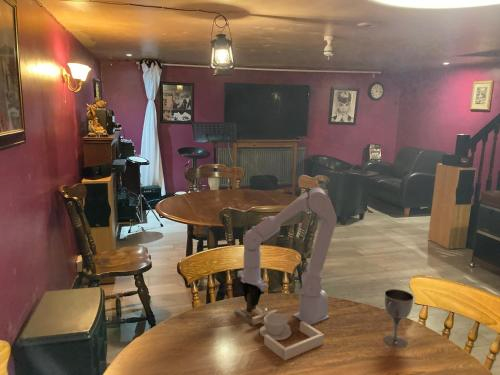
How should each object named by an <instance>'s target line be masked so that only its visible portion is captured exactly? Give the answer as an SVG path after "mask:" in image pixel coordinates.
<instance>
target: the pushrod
mask: <svg viewBox="0 0 500 375" xmlns="http://www.w3.org/2000/svg"><path fill="white" fill-rule="evenodd" d="M239 310H240V311H242V312H243V313H245V314H246V315H247V316H249V317H250V318H251V319H252V324H254V325H255V324H256V325H257V324H260V323H264V317H265V316H266V315H268V314H273V313H276V314H280V313H279V310H278V309H273V310H270V311H266V312H267V313H263V312H262V311H261V310H259V309H258V308H256V306H252V305H251V296H250V293H248V294H247V302H246V306H244V307H240V309H239ZM252 324H251V325H252ZM256 325H255V326H256Z"/></svg>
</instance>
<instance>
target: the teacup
mask: <svg viewBox="0 0 500 375" xmlns="http://www.w3.org/2000/svg"><path fill="white" fill-rule="evenodd" d="M259 334H260V335H261V336H262V337H263V338H264V335H266V334H267V335H269V336H270V337H272V338H273V339H274V340H276V341H283V340H286V339H288V338H290V336H291V335H292V329H291V326H290V325H289V324H288V318H287V316H285V315H284V314H281V313H279V314H276V313H273V314H268V315H266V316H265V317H264V322H263V325H262V326H261V327H260V329H259Z"/></svg>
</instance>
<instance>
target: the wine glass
mask: <svg viewBox="0 0 500 375" xmlns="http://www.w3.org/2000/svg"><path fill="white" fill-rule="evenodd" d="M413 304H414V296H413V294H412V293H410V292H409V291H406V290H402V289H397V288H392V289H387V290H385V292H384V306H385V307H384V308H385V311H386V313H387V315H388V316H389V317H390V318H391V320H392V321H393V323H394V324H393V326H394V333H393V334H385V335H384V336H383V337H382V341H383V342H384V343H385V344H387V345H388V346H390V347H394V348H405V347H407V346H408V341H407V339H406V338H404V337H402V336H400V335H398V331H399V330H398V328H399V325H400V323H402V321H403V320H405V319H406V318H408V317H409V316H410V314H411V311H412V308H413Z"/></svg>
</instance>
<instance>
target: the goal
mask: <svg viewBox="0 0 500 375" xmlns="http://www.w3.org/2000/svg"><path fill="white" fill-rule="evenodd" d="M299 331H300V332H301V333H303V334H304V335H306V336H308V337H307V338H306V339H304V340H302V341H299V342H296V343H294V344H292V345H289V346H287V347H285V346H284V345H282V344H281V343H280V342H279V341H278V340H274V339H273V338H272V337H270V336H269V335H267V334H266V335H264V337H263V338H264V339H263V340H264V341H263V342H264V343H263V344H264V346H265V347H266V348H267V349H269V350H271V351H272V352H273V353H275V354H276V355H277V356H279V358H281V359H282V360H284V361H287V360H289V359H291V358H294V357H296V356H299V355H301V354H303V353H305V352H308V351H310V350H312V349H315V348H317V347H319V346H321V345H324V344H325V343H324V342H325V333H322V332H321V331H319V330H318V329H316V328H315V327H313V326H311V325H308V324H307V323H305V322H303V321H301V320H300V322H299Z"/></svg>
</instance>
